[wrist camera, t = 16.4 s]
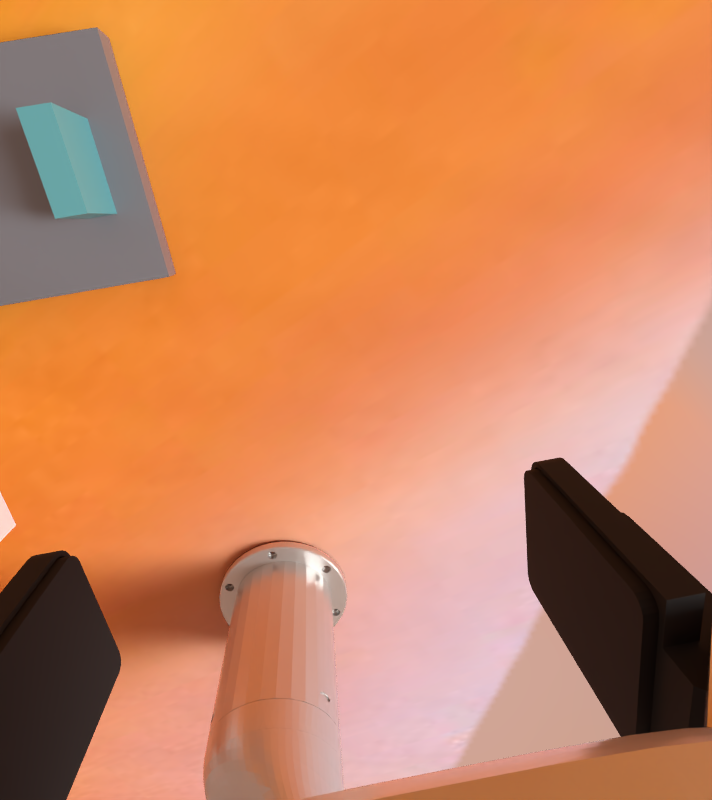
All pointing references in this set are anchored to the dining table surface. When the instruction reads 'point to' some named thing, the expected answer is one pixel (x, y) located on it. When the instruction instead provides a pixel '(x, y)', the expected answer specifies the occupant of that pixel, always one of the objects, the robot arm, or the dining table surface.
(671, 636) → the robot arm
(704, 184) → the dining table surface
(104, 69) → the lid
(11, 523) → the tub
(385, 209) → the dining table surface
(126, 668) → the dining table surface
